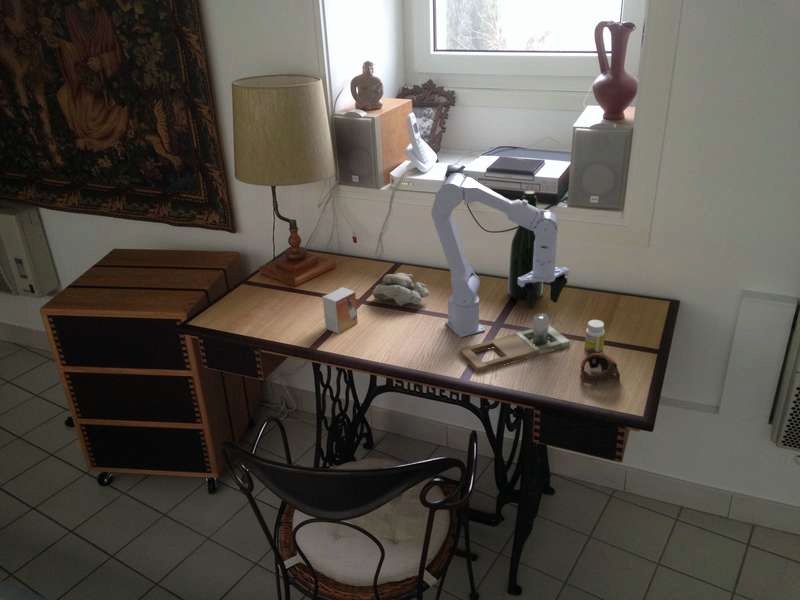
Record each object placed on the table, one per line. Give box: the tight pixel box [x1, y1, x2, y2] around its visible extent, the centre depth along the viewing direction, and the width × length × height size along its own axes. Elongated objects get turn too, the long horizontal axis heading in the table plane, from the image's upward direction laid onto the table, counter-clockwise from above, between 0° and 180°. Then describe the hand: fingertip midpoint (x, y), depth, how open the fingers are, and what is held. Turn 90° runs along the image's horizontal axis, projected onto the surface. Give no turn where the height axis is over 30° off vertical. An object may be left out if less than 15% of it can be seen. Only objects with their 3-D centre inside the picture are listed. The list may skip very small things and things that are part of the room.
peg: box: [532, 313, 550, 347], centre depth 183 cm, size 4×4×8 cm
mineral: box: [372, 272, 430, 306], centre depth 207 cm, size 12×17×10 cm
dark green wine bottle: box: [507, 190, 544, 302], centre depth 202 cm, size 10×10×33 cm
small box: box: [322, 286, 359, 335], centre depth 195 cm, size 8×6×10 cm
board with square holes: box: [458, 324, 571, 373], centre depth 182 cm, size 10×28×2 cm, turn 114°
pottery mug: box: [579, 348, 621, 386], centre depth 168 cm, size 12×10×8 cm
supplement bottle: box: [583, 319, 606, 354], centre depth 178 cm, size 5×5×8 cm
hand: (541, 304), depth 183 cm, fingers open, 7 cm apart
